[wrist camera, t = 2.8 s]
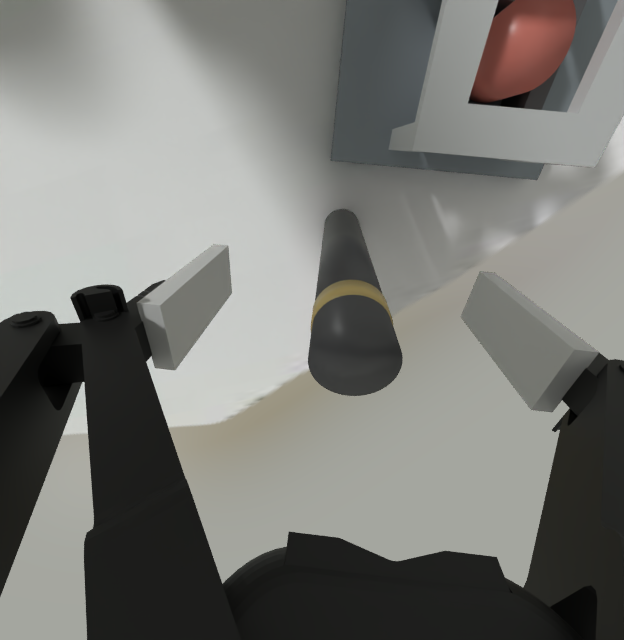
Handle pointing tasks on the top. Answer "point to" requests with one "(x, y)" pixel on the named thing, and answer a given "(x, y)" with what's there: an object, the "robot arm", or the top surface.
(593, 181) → the top surface
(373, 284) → the stylus
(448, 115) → the grey framed button station
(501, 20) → the button
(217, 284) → the robot arm
